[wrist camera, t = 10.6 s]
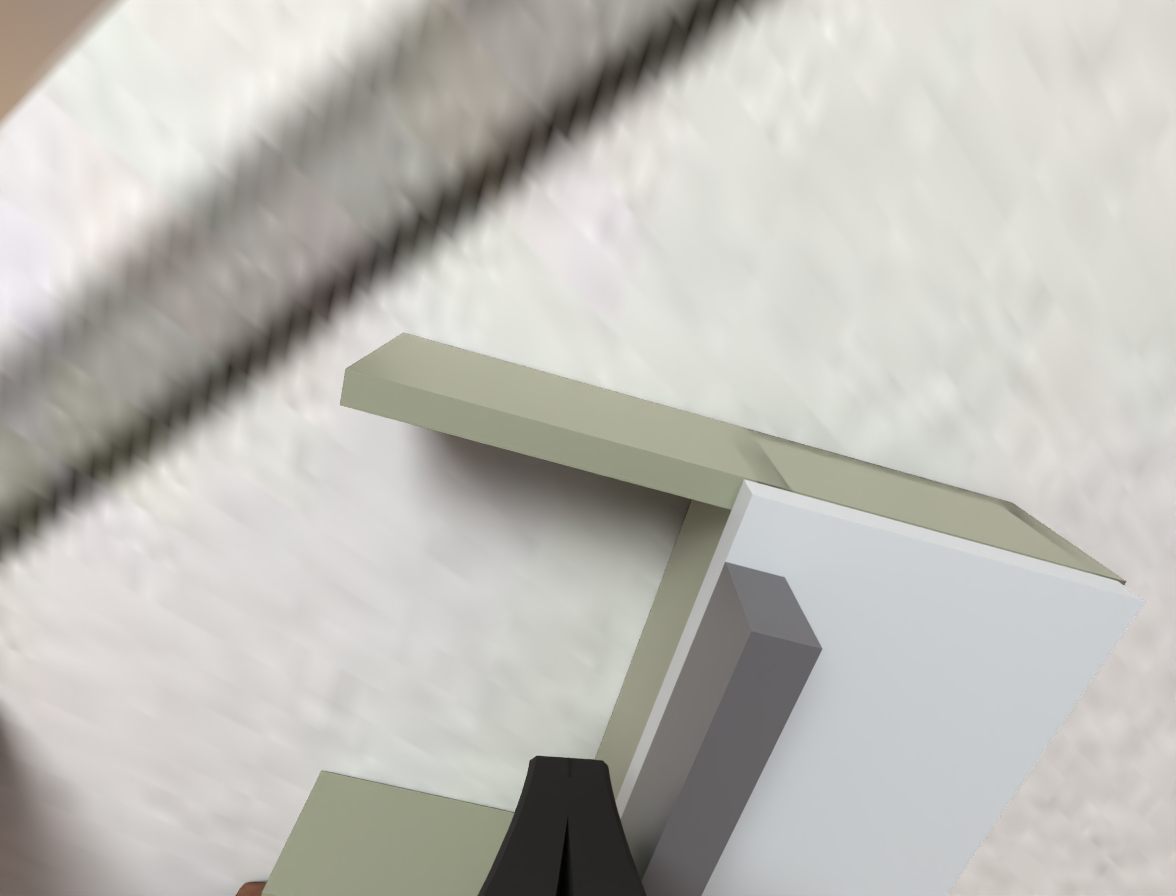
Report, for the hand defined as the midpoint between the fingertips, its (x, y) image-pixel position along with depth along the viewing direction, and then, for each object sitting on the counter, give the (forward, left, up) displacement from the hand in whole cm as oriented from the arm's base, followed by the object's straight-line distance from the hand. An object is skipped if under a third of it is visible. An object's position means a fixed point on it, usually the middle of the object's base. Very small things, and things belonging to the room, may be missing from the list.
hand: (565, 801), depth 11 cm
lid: (-5, 0, -1) cm, 5 cm away
